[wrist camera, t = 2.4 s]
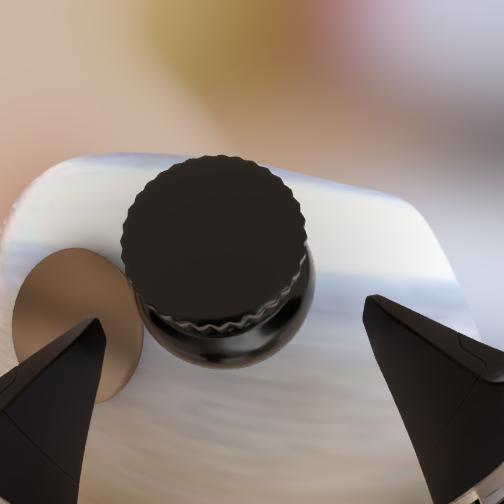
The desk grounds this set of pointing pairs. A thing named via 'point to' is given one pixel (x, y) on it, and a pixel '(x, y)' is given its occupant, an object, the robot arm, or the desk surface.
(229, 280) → the supplement bottle
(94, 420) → the desk surface
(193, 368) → the desk surface
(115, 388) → the walnut coaster
